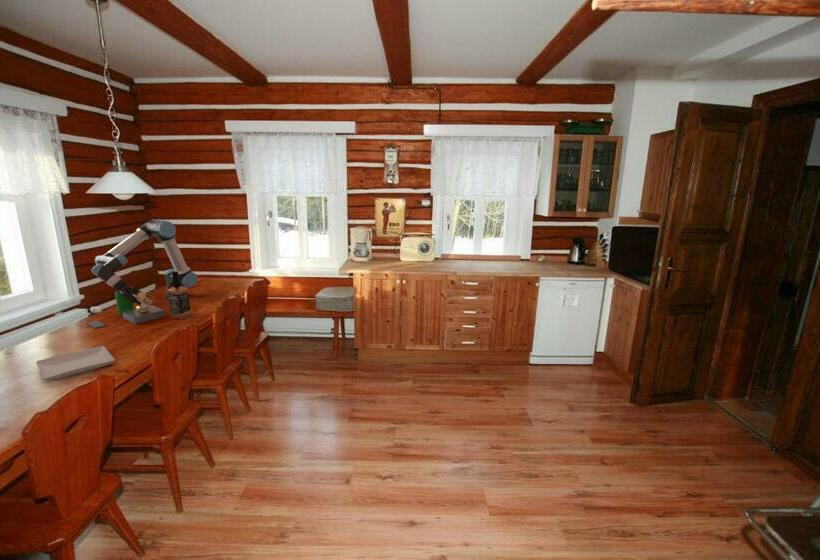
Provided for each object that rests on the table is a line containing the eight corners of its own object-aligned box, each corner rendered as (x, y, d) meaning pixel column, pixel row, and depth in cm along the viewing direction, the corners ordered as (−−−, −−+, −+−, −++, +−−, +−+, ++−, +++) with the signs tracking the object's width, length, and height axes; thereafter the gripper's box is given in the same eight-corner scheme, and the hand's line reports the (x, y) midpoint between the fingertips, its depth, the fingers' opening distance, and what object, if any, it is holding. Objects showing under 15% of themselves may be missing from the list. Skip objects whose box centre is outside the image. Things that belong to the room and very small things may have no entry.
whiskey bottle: (169, 318, 262) (162, 272, 254) (181, 314, 271) (175, 269, 264) (181, 320, 259) (174, 274, 251) (193, 315, 268) (187, 270, 261)
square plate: (116, 366, 195) (115, 359, 194) (43, 386, 176) (41, 378, 175) (104, 350, 213) (103, 344, 212) (36, 367, 193) (35, 360, 192)
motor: (138, 311, 276) (133, 284, 271) (128, 315, 267) (123, 287, 262) (125, 311, 277) (120, 284, 272) (114, 315, 268) (109, 287, 263)
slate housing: (153, 313, 273) (152, 305, 271) (165, 318, 263) (164, 310, 261) (124, 320, 258) (122, 311, 257) (135, 326, 248) (134, 317, 247)
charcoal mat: (112, 318, 262) (111, 317, 262) (120, 322, 254) (120, 321, 254) (86, 324, 251) (86, 323, 250) (94, 328, 243) (94, 327, 243)
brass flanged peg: (148, 311, 265) (144, 290, 261) (153, 313, 261) (150, 292, 257) (134, 314, 259) (131, 293, 255) (140, 317, 254) (136, 295, 251)
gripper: (121, 283, 262) (151, 304, 269) (104, 291, 243) (137, 314, 249) (128, 275, 261) (158, 297, 268) (112, 282, 242) (145, 305, 249)
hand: (148, 305), depth 259 cm, fingers closed on brass flanged peg, 7 cm apart
